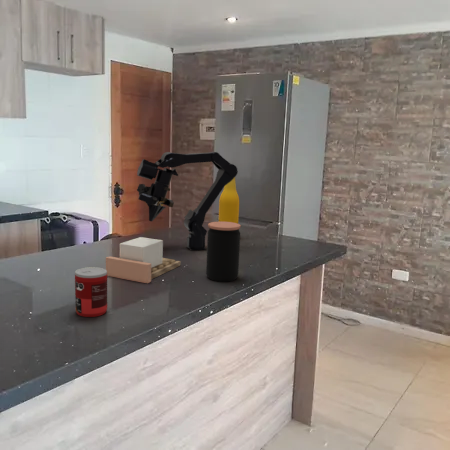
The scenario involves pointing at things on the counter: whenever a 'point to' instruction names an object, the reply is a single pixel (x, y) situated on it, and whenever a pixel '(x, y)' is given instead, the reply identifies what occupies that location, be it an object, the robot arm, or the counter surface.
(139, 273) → the brick stop
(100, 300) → the canned food
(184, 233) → the counter surface
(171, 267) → the roller bed
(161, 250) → the white box on pallet
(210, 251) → the coffee jar
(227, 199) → the beer bottle
